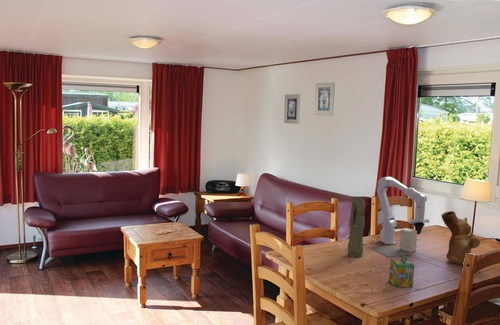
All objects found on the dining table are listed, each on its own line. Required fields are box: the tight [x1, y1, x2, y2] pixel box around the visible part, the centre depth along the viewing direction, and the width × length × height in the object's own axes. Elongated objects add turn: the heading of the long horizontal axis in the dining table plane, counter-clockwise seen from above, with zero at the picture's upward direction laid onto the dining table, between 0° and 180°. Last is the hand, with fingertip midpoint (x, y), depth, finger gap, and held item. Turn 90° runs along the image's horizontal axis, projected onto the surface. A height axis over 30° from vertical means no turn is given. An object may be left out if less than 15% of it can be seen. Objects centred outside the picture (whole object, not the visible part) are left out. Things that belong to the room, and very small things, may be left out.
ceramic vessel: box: [440, 210, 481, 266], centre depth 269 cm, size 16×22×30 cm
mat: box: [368, 245, 411, 258], centre depth 288 cm, size 20×16×1 cm
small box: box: [399, 227, 418, 253], centre depth 292 cm, size 8×6×13 cm
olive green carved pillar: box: [347, 196, 366, 259], centre depth 275 cm, size 9×12×35 cm
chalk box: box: [388, 255, 415, 288], centre depth 231 cm, size 9×9×15 cm
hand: (418, 233), depth 294 cm, fingers closed
